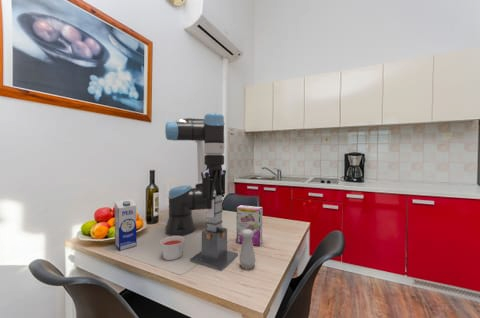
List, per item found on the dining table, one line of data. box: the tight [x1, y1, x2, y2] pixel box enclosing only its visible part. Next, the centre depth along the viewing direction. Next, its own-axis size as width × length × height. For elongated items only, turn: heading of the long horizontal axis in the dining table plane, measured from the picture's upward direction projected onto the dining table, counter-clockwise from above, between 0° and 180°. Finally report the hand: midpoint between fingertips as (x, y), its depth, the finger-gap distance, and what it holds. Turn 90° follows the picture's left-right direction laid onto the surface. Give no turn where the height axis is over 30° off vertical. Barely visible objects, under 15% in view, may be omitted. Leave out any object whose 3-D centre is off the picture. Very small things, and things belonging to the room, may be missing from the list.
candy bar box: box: [236, 204, 263, 247], centre depth 92 cm, size 11×5×16 cm, turn 71°
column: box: [205, 194, 223, 234], centre depth 78 cm, size 4×4×22 cm
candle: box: [159, 235, 185, 261], centre depth 80 cm, size 9×9×6 cm
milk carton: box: [114, 198, 138, 252], centre depth 89 cm, size 7×7×20 cm
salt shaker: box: [239, 229, 256, 270], centre depth 73 cm, size 6×6×13 cm
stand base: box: [189, 226, 239, 272], centre depth 78 cm, size 14×12×12 cm
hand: (214, 215), depth 78 cm, fingers closed on column, 4 cm apart
